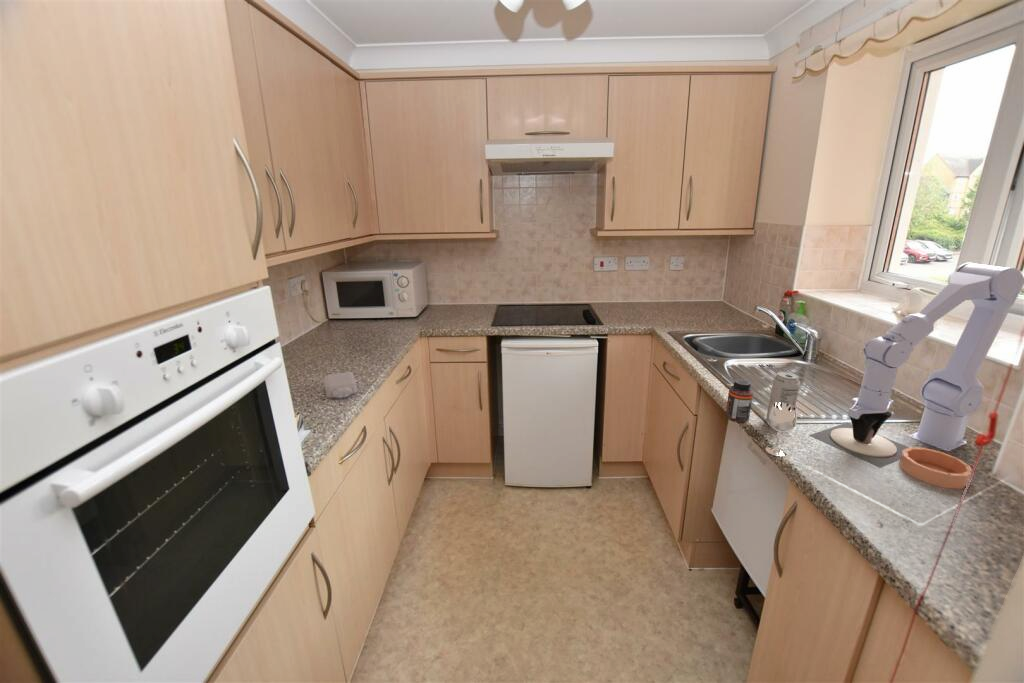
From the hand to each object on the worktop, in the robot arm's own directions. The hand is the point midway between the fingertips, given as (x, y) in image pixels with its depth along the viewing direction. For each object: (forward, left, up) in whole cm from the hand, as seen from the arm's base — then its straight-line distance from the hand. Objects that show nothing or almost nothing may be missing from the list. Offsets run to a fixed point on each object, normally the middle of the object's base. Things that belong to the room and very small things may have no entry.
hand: (863, 438), depth 108 cm
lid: (0, 0, -1) cm, 1 cm away
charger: (+115, -90, -2) cm, 146 cm away
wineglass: (+22, -7, -2) cm, 23 cm away
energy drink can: (+10, -15, -2) cm, 18 cm away
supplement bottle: (+16, -23, -2) cm, 28 cm away
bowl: (0, +14, -2) cm, 14 cm away
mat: (0, 0, -2) cm, 2 cm away
